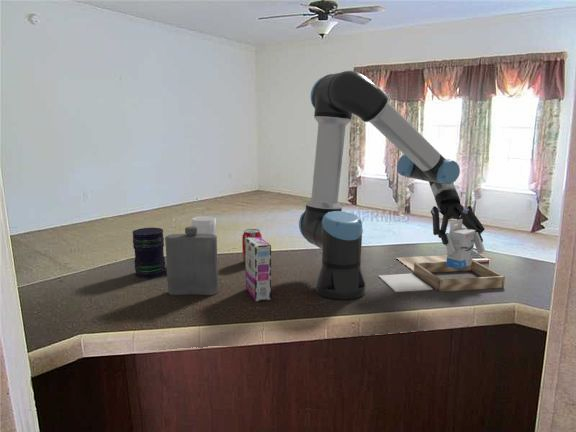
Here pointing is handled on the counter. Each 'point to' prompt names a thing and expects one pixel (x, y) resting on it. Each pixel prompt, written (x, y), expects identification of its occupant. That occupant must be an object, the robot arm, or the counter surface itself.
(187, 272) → the flask
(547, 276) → the counter surface
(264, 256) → the candy bar box
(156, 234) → the storage jar
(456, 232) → the ink box
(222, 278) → the counter surface
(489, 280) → the mailer box
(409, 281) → the mat
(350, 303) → the counter surface
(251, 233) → the soda can
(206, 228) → the cup
